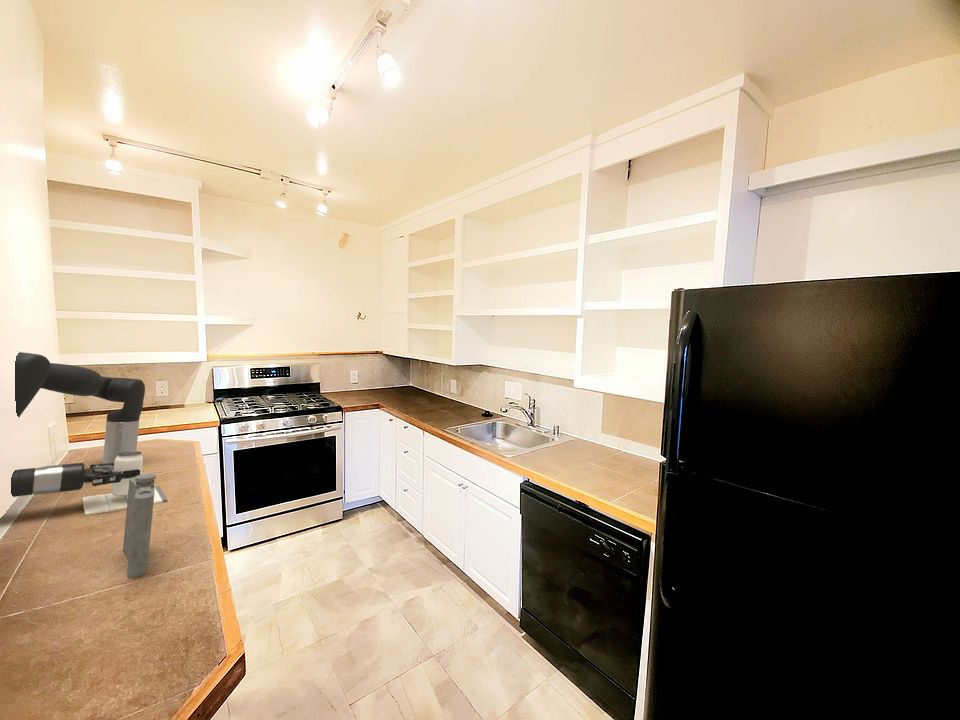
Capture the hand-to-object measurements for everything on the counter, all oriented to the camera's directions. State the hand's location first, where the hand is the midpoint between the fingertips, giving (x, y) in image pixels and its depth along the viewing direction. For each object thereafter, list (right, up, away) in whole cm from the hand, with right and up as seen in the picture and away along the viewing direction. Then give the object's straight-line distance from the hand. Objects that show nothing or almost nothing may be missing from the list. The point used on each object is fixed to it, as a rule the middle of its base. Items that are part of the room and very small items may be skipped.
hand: (138, 469), depth 119 cm
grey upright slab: (+27, -13, -30) cm, 42 cm away
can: (-2, -7, -2) cm, 7 cm away
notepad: (-2, -9, -1) cm, 9 cm away
